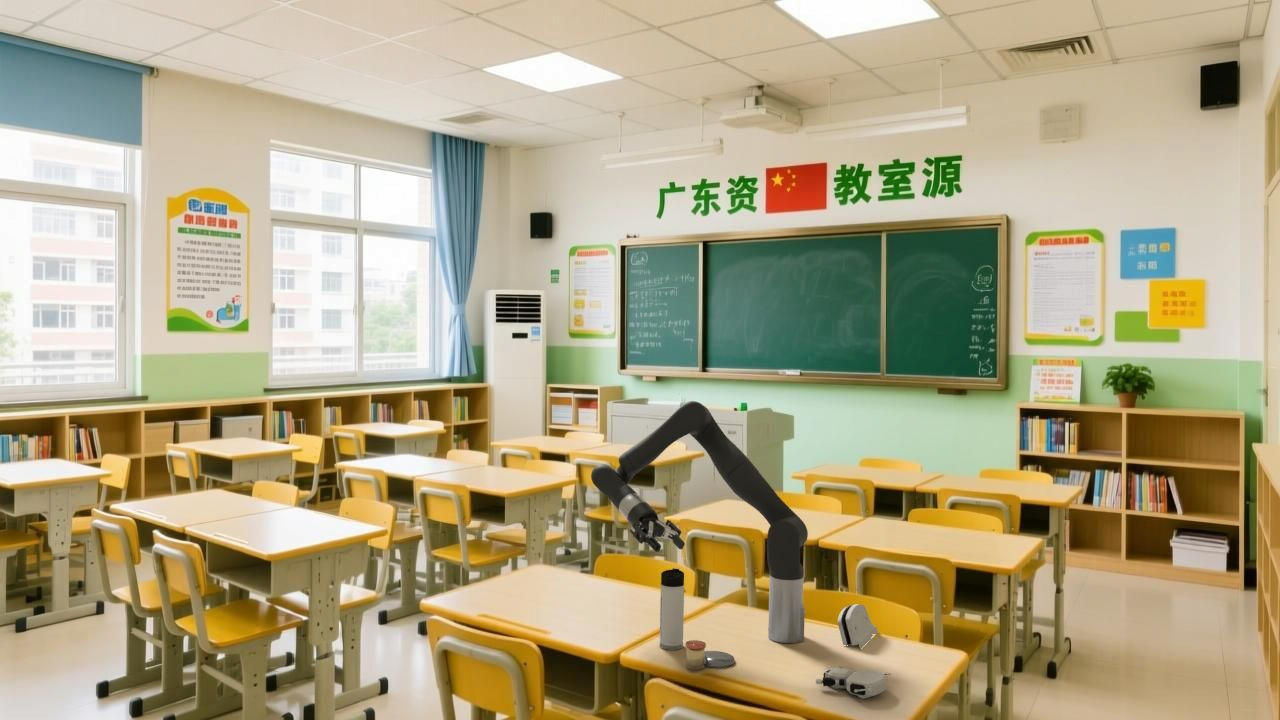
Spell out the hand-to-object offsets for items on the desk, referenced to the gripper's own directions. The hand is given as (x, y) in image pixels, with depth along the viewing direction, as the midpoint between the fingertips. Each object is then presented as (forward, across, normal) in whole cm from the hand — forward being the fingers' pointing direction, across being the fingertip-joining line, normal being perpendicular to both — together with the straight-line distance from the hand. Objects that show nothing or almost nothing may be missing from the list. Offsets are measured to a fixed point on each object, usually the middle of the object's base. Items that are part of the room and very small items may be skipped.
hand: (671, 548), depth 234 cm
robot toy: (+56, +14, +1) cm, 58 cm away
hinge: (+36, +45, +9) cm, 59 cm away
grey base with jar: (+27, -1, +16) cm, 31 cm away
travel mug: (+13, 0, +22) cm, 26 cm away
